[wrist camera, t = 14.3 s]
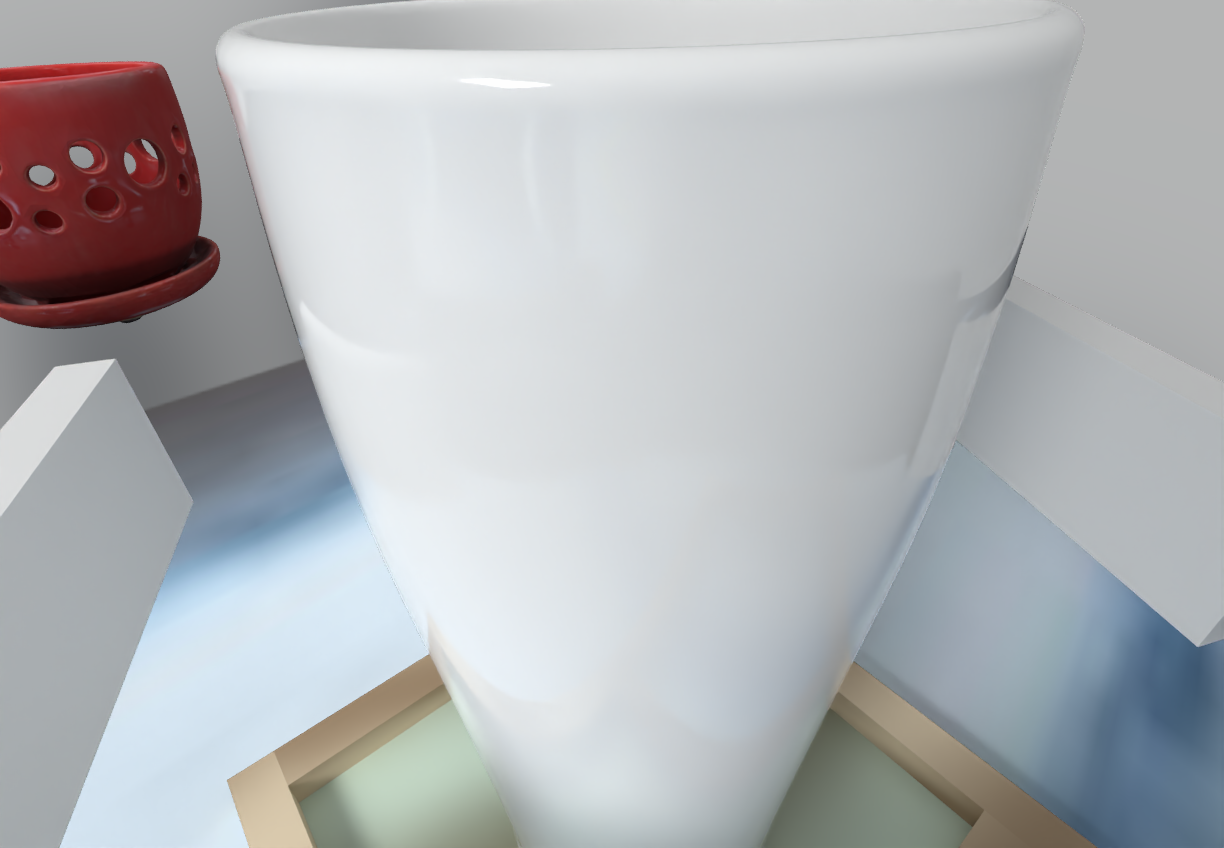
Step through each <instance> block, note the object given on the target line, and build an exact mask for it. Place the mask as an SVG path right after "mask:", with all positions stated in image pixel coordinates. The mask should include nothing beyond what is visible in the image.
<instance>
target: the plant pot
mask: <svg viewBox="0 0 1224 848" xmlns="http://www.w3.org/2000/svg"><path fill="white" fill-rule="evenodd" d="M141 139H143V140H146V141H148V142H149V143H150V144H151V146H152V147H153V148H154V150H155V152H156V155H157V157H158V159H156V158H154V157H152V156H151V155H150V154H149V153H148V152H147V151H146V149H145V148H144V146H143V144H142V141H141ZM75 146H81V147H84V148H86V149H88V150H89V151H91V153H92V154H93V157H94V163H93V164H92V166H91V167H89V168H81V167H78V166H77V165H75V164H74V163H73V161H72V160H71V158H70V155H69V149H70V148H71V147H75ZM125 152H127V153H129V154H130V155H132V156H133V158H134V159H135V162H136V169H135V171H134V172H133V173H131V174H128V172H127V170H126V167H125V164H124V153H125ZM37 165H41V166H46V167H48V168H50V169H51V170H52V171H53V172H54V177H53V180H52V181H51V182H50V183H49V184H47V185H45V186H42V185H39V184H36V183H34V182H33V181H31V179H30V177H29V170H30V169H31V168H32V167H33V166H37ZM201 198H202V197H201V186H200V179H199V173H198V167H197V163H196V158H195V155H194V153H193V149H192V146H191V142H190V139H189V135H188V131H187V127H186V124H185V120H184V117H183V114H182V111H181V108H180V106H179V103H178V100H177V97H176V94H175V92H174V89H173V87H172V84H171V81H170V79H169V76H168V74H167V72H166V70H165V68H164V67H163V66H162V65H160V64H158V63H154V62H94V63H74V64H73V63H71V64H55V65H38V66H23V67H10V68H0V317H1V318H4V319H6V320H8V321H11V322H14V323H17V324H22V325H26V326H31V327H39V328H51V329H67V328H81V327H89V326H97V325H103V324H109V323H114V322H119V321H120V322H122V323H130V322H133V321H136V320H138V319H140V318H141V317H142V316H143V315H146V314H149V313H152V312H155V311H157V310H160V309H162V308H165V307H167V306H170V305H172V304H174V303H176V302H179V301H181V300H183V299H185V298H187V297H188V296H190V295H192V294H194V293H195V292H197V291H198V290H200V289H201V288H202V287H203V286H205V285H206V284H207V283H208V282H209V281H210V280H211V279H212V277H213V276H214V275H215V273H216V271H217V269H218V266H219V262H220V252H219V248H218V246H217V244H216V243H214V242H213V241H212V240H210V239H207V238H205V237H201V236H198V233H199V228H200V221H201V210H202V199H201Z"/></svg>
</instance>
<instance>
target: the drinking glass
mask: <svg viewBox="0 0 1224 848" xmlns="http://www.w3.org/2000/svg"><path fill="white" fill-rule="evenodd" d="M1084 33H1085V27H1084V22H1083V20H1082V18H1081V17H1080V15H1079V14H1078V13H1077V12H1076V11H1075V10H1073V9H1072V8H1071V7H1069V6H1068V5H1065V4H1063V3H1060V2H1056V1H1051V0H415V1H403V2H390V3H379V4H367V5H357V6H346V7H338V8H328V9H320V10H311V11H304V12H296V13H290V14H283V15H277V16H271V17H266V18H261V19H256V20H253V21H249V22H245V23H242V24H239V25H236V26H234V27H232V28H230V29H229V30H227V31H226V32H225V33H224V34H223V35H222V36H221V37H220V39H219V41H218V43H217V46H216V50H215V60H216V66H217V69H218V72H219V75H220V78H221V81H222V84H223V86H224V89H225V92H226V96H227V99H228V102H229V106H230V109H231V112H232V116H233V119H234V123H235V126H236V130H237V134H238V137H239V141H240V144H241V148H242V151H243V155H244V158H245V162H246V166H247V169H248V173H249V177H250V180H251V184H252V187H253V191H254V195H255V198H256V202H257V205H258V209H259V212H260V215H261V219H262V222H263V226H264V230H265V233H266V236H267V240H268V243H269V247H270V250H271V253H272V257H273V260H274V263H275V266H276V270H277V273H278V276H279V280H280V283H281V287H282V290H283V293H284V297H285V300H286V303H287V306H288V309H289V312H290V315H291V318H292V322H293V325H294V327H295V331H296V334H297V337H298V340H299V343H300V347H301V350H302V352H303V355H304V358H305V361H306V364H307V367H308V370H309V373H310V376H311V379H312V382H313V385H314V388H315V391H316V393H317V396H318V399H319V402H320V405H321V407H322V410H323V413H324V416H325V418H326V421H327V424H328V426H329V429H330V432H331V435H332V437H333V440H334V443H335V446H336V448H337V451H338V453H339V456H340V458H341V461H342V463H343V466H344V468H345V471H346V473H347V476H348V478H349V481H350V483H351V486H352V488H353V491H354V493H355V496H356V498H357V501H358V503H359V506H360V508H361V511H362V513H363V515H364V518H365V520H366V522H367V525H368V527H369V529H370V531H371V534H372V536H373V538H374V541H375V543H376V545H377V548H378V550H379V552H380V554H381V556H382V559H383V561H384V563H385V565H386V567H387V569H388V571H389V573H390V576H391V578H392V580H393V582H394V584H395V586H396V588H397V590H398V593H399V595H400V597H401V599H402V601H403V603H404V605H405V607H406V609H407V611H408V613H409V615H410V617H411V619H412V621H413V623H414V625H415V628H416V630H417V632H418V634H419V636H420V638H421V640H422V642H423V644H424V646H425V648H426V650H427V652H428V654H429V656H430V658H431V660H432V662H433V664H434V666H435V668H436V670H437V672H438V674H439V676H440V678H441V680H442V682H443V684H444V687H445V689H446V691H447V693H448V695H449V697H450V699H451V701H452V703H453V705H454V707H455V709H456V711H457V713H458V715H459V717H460V719H461V721H462V723H463V725H464V727H465V729H466V731H467V734H468V736H469V738H470V740H471V742H472V744H473V746H474V748H475V750H476V752H477V754H478V756H479V758H480V760H481V762H482V765H483V767H484V769H485V771H486V773H487V775H488V777H489V779H490V781H491V784H492V786H493V788H494V790H495V792H496V794H497V796H498V798H499V800H500V803H501V805H502V807H503V809H504V811H505V813H506V815H507V818H508V820H509V822H510V824H511V826H512V829H513V833H514V837H515V840H516V844H517V848H764V847H765V843H766V839H767V835H768V833H769V831H770V829H771V827H772V825H773V822H774V820H775V818H776V816H777V814H778V812H779V810H780V808H781V806H782V804H783V802H784V799H785V797H786V795H787V793H788V791H789V789H790V787H791V785H792V783H793V781H794V779H795V777H796V775H797V773H798V771H799V769H800V767H801V765H802V763H803V761H804V759H805V757H806V755H807V753H808V751H809V749H810V747H811V745H812V743H813V741H814V739H815V737H816V735H817V733H818V731H819V729H820V727H821V725H822V723H823V721H824V719H825V717H826V715H827V713H828V711H829V709H830V707H831V705H832V703H833V701H834V699H835V697H836V695H837V693H838V691H839V689H840V687H841V685H842V683H843V681H844V680H845V678H846V676H847V674H848V672H849V670H850V668H851V666H852V664H853V662H854V660H855V658H856V656H857V654H858V652H859V650H860V648H861V646H862V644H863V642H864V640H865V638H866V636H867V634H868V632H869V630H870V628H871V626H872V624H873V622H874V620H875V618H876V616H877V615H878V613H879V611H880V609H881V607H882V605H883V603H884V601H885V599H886V597H887V595H888V593H889V591H890V588H891V586H892V584H893V582H894V580H895V578H896V576H897V574H898V572H899V570H900V568H901V566H902V564H903V562H904V560H905V558H906V556H907V554H908V552H909V550H910V547H911V545H912V543H913V541H914V539H915V536H916V534H917V532H918V530H919V528H920V525H921V523H922V521H923V519H924V517H925V514H926V512H927V510H928V508H929V505H930V503H931V501H932V498H933V496H934V494H935V491H936V489H937V486H938V484H939V481H940V479H941V477H942V474H943V472H944V469H945V467H946V464H947V462H948V460H949V457H950V455H951V452H952V449H953V447H954V444H955V441H956V439H957V436H958V434H959V431H960V428H961V426H962V423H963V420H964V418H965V415H966V412H967V410H968V407H969V405H970V402H971V399H972V396H973V393H974V390H975V388H976V385H977V382H978V379H979V376H980V373H981V371H982V368H983V365H984V362H985V359H986V356H987V354H988V351H989V348H990V345H991V342H992V339H993V336H994V333H995V330H996V326H997V323H998V320H999V317H1000V314H1001V311H1002V308H1003V305H1004V302H1005V299H1006V296H1007V293H1008V290H1009V287H1010V283H1011V280H1012V277H1013V274H1014V270H1015V267H1016V264H1017V261H1018V257H1019V254H1020V251H1021V248H1022V245H1023V241H1024V238H1025V235H1026V231H1027V228H1028V225H1029V221H1030V218H1031V214H1032V211H1033V208H1034V204H1035V201H1036V198H1037V194H1038V191H1039V187H1040V184H1041V180H1042V177H1043V173H1044V170H1045V166H1046V163H1047V160H1048V156H1049V153H1050V149H1051V146H1052V142H1053V139H1054V135H1055V132H1056V128H1057V125H1058V121H1059V117H1060V114H1061V110H1062V107H1063V104H1064V101H1065V97H1066V94H1067V91H1068V87H1069V84H1070V81H1071V78H1072V75H1073V72H1074V69H1075V66H1076V64H1077V61H1078V58H1079V55H1080V53H1081V50H1082V45H1083V40H1084Z"/></svg>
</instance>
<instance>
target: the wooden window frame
mask: <svg viewBox="0 0 1224 848" xmlns="http://www.w3.org/2000/svg"><path fill="white" fill-rule="evenodd" d="M227 782H228V785H229V788H230V791H231V794H232V797H233V800H234V803H235V806H236V809H237V812H238V815H239V818H240V821H241V824H242V827H243V830H244V833H245V836H246V839H247V842H248V845H249V848H517V844H516V840H515V837H514V833H513V829H512V826H511V824H510V822H509V820H508V818H507V815H506V813H505V811H504V809H503V807H502V805H501V803H500V800H499V798H498V796H497V794H496V792H495V790H494V788H493V786H492V784H491V781H490V779H489V777H488V775H487V773H486V771H485V769H484V767H483V765H482V762H481V760H480V758H479V756H478V754H477V752H476V750H475V748H474V746H473V744H472V742H471V740H470V738H469V736H468V734H467V731H466V729H465V727H464V725H463V723H462V721H461V719H460V717H459V715H458V713H457V711H456V709H455V707H454V705H453V703H452V701H451V699H450V697H449V695H448V693H447V691H446V689H445V687H444V684H443V682H442V680H441V678H440V676H439V674H438V672H437V670H436V668H435V666H434V664H433V662H432V660H431V658H430V656H429V655H427V656H425V657H424V658H422V659H421V660H419V661H417V662H416V663H414V664H413V665H411V666H409V667H408V668H406V669H405V670H403V671H401V672H400V673H398V674H396V675H395V676H393V677H392V678H390V679H388V680H387V681H385V682H384V683H382V684H380V685H379V686H377V687H376V688H374V689H372V690H371V691H369V692H368V693H366V694H364V695H363V696H361V697H360V698H358V699H356V700H355V701H353V702H352V703H350V704H348V705H347V706H345V707H344V708H342V709H340V710H339V711H337V712H336V713H334V714H332V715H331V716H329V717H328V718H326V719H324V720H323V721H321V722H320V723H318V724H316V725H315V726H313V727H312V728H310V729H308V730H307V731H305V732H304V733H302V734H300V735H299V736H297V737H296V738H294V739H292V740H291V741H289V742H287V743H286V744H284V745H283V746H281V747H279V748H278V749H276V750H275V751H273V752H271V753H270V754H268V755H267V756H265V757H263V758H262V759H260V760H259V761H257V762H255V763H254V764H252V765H251V766H249V767H247V768H246V769H244V770H243V771H241V772H239V773H238V774H236V775H235V776H233V777H231V778H230V779H228V780H227ZM764 848H1097V847H1096V846H1095V845H1094V844H1092V843H1091V842H1090V841H1088V840H1087V839H1086V838H1084V837H1083V836H1082V835H1080V834H1079V833H1078V832H1076V831H1075V830H1074V829H1073V828H1071V827H1070V826H1069V825H1067V824H1066V823H1065V822H1063V821H1062V820H1061V819H1059V818H1058V817H1057V816H1056V815H1054V814H1053V813H1052V812H1050V811H1049V810H1048V809H1046V808H1045V807H1044V806H1042V805H1041V804H1040V803H1039V802H1037V801H1036V800H1035V799H1033V798H1032V797H1031V796H1029V795H1028V794H1027V793H1025V792H1024V791H1023V790H1021V789H1020V788H1019V787H1018V786H1016V785H1015V784H1014V783H1012V782H1011V781H1010V780H1008V779H1007V778H1006V777H1004V776H1003V775H1002V774H1001V773H999V772H998V771H997V770H995V769H994V768H993V767H991V766H990V765H989V764H987V763H986V762H985V761H984V760H982V759H981V758H980V757H978V756H977V755H976V754H974V753H973V752H972V751H970V750H969V749H968V748H967V747H965V746H964V745H963V744H961V743H960V742H959V741H957V740H956V739H955V738H953V737H952V736H951V735H949V734H948V733H947V732H946V731H944V730H943V729H942V728H940V727H939V726H938V725H936V724H935V723H934V722H932V721H931V720H930V719H929V718H927V717H926V716H925V715H923V714H922V713H921V712H919V711H918V710H917V709H915V708H914V707H913V706H912V705H910V704H909V703H908V702H906V701H905V700H904V699H902V698H901V697H900V696H898V695H897V694H896V693H894V692H893V691H892V690H891V689H889V688H888V687H887V686H885V685H884V684H883V683H881V682H880V681H879V680H877V679H876V678H875V677H874V676H872V675H871V674H870V673H868V672H867V671H866V670H864V669H863V668H862V667H860V666H859V665H858V664H857V663H855V662H853V664H852V666H851V668H850V670H849V672H848V674H847V676H846V678H845V680H844V681H843V683H842V685H841V687H840V689H839V691H838V693H837V695H836V697H835V699H834V701H833V703H832V705H831V707H830V709H829V711H828V713H827V715H826V717H825V719H824V721H823V723H822V725H821V727H820V729H819V731H818V733H817V735H816V737H815V739H814V741H813V743H812V745H811V747H810V749H809V751H808V753H807V755H806V757H805V759H804V761H803V763H802V765H801V767H800V769H799V771H798V773H797V775H796V777H795V779H794V781H793V783H792V785H791V787H790V789H789V791H788V793H787V795H786V797H785V799H784V802H783V804H782V806H781V808H780V810H779V812H778V814H777V816H776V818H775V820H774V822H773V825H772V827H771V829H770V831H769V833H768V835H767V839H766V843H765V847H764Z"/></svg>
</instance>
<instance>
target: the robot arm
mask: <svg viewBox="0 0 1224 848" xmlns="http://www.w3.org/2000/svg"><path fill="white" fill-rule="evenodd" d="M956 440H957V441H958V442H959V443H960V444H961V445H963V446H964V447H965V448H966V449H967V450H968V451H970V452H971V453H972V454H973V455H974V456H975V457H977V458H978V459H979V460H980V461H981V462H982V463H984V464H985V465H986V466H987V467H988V468H989V469H991V470H992V471H993V472H994V473H995V474H996V475H998V476H999V477H1000V478H1001V479H1002V480H1003V481H1005V482H1006V483H1007V484H1008V485H1009V486H1010V487H1012V488H1013V489H1014V490H1015V491H1016V492H1017V493H1019V494H1020V495H1021V496H1022V497H1023V498H1024V499H1026V500H1027V501H1028V502H1029V503H1030V504H1031V505H1033V506H1034V507H1035V508H1036V509H1037V510H1038V511H1040V512H1041V513H1042V514H1043V515H1044V516H1045V517H1047V518H1048V519H1049V520H1050V521H1051V522H1052V523H1054V524H1055V525H1056V526H1057V527H1058V528H1059V529H1061V530H1062V531H1063V532H1064V533H1065V534H1066V535H1068V536H1069V537H1070V538H1071V539H1072V540H1073V541H1075V542H1076V543H1077V544H1078V545H1079V546H1080V547H1082V548H1083V549H1084V550H1085V551H1086V552H1087V553H1089V554H1090V555H1091V556H1092V557H1093V558H1094V559H1095V560H1097V561H1098V562H1099V563H1100V564H1101V565H1102V566H1104V567H1105V568H1106V569H1107V570H1108V571H1109V572H1111V573H1112V574H1113V575H1114V576H1115V577H1116V578H1118V579H1119V580H1120V581H1121V582H1122V583H1123V584H1125V585H1126V586H1127V587H1128V588H1129V589H1130V590H1132V591H1133V592H1134V593H1135V594H1136V595H1137V596H1139V597H1140V598H1141V599H1142V600H1143V601H1144V602H1146V603H1147V604H1148V605H1149V606H1150V607H1151V608H1153V609H1154V610H1155V611H1156V612H1157V613H1158V614H1160V615H1161V616H1162V617H1163V618H1164V619H1165V620H1167V621H1168V622H1169V623H1170V624H1171V625H1172V626H1174V627H1175V628H1176V629H1177V630H1178V631H1179V632H1181V633H1182V634H1183V635H1184V636H1185V637H1186V638H1188V639H1189V640H1190V641H1191V642H1192V643H1193V644H1195V645H1196V646H1197V647H1200V646H1203V645H1206V644H1210V643H1213V642H1216V641H1220V640H1223V639H1224V382H1223V381H1221V380H1219V379H1217V378H1215V377H1213V376H1211V375H1209V374H1207V373H1205V372H1203V371H1201V370H1199V369H1197V368H1195V367H1193V366H1191V365H1189V364H1187V363H1185V362H1183V361H1181V360H1179V359H1177V358H1175V357H1173V356H1171V355H1169V354H1167V353H1166V352H1164V351H1162V350H1160V349H1158V348H1156V347H1154V346H1152V345H1150V344H1148V343H1146V342H1144V341H1142V340H1140V339H1138V338H1136V337H1134V336H1132V335H1130V334H1128V333H1126V332H1124V331H1122V330H1120V329H1118V328H1116V327H1114V326H1112V325H1110V324H1108V323H1106V322H1104V321H1102V320H1100V319H1099V318H1097V317H1095V316H1093V315H1091V314H1089V313H1087V312H1085V311H1083V310H1081V309H1079V308H1077V307H1075V306H1073V305H1070V304H1069V303H1067V302H1065V301H1063V300H1061V299H1059V298H1057V297H1055V296H1053V295H1051V294H1049V293H1047V292H1045V291H1043V290H1041V289H1039V288H1037V287H1035V286H1033V285H1031V284H1030V283H1027V282H1025V281H1024V280H1022V279H1020V278H1017V277H1015V276H1014V275H1013V277H1012V280H1011V283H1010V287H1009V290H1008V293H1007V296H1006V299H1005V302H1004V305H1003V308H1002V311H1001V314H1000V317H999V320H998V323H997V326H996V330H995V333H994V336H993V339H992V342H991V345H990V348H989V351H988V354H987V356H986V359H985V362H984V365H983V368H982V371H981V373H980V376H979V379H978V382H977V385H976V388H975V390H974V393H973V396H972V399H971V402H970V405H969V407H968V410H967V412H966V415H965V418H964V420H963V423H962V426H961V428H960V431H959V434H958V436H957V439H956ZM192 505H193V500H192V498H191V496H190V494H189V492H188V491H187V489H186V487H185V485H184V483H183V481H182V480H181V478H180V476H179V474H178V472H177V470H176V469H175V467H174V465H173V463H172V461H171V459H170V457H169V456H168V454H167V452H166V450H165V448H164V446H163V445H162V443H161V441H160V439H159V437H158V435H157V433H156V432H155V430H154V428H153V426H152V424H151V422H150V421H149V419H148V417H147V415H146V413H145V411H144V409H143V408H142V406H141V404H140V402H139V400H138V398H137V397H136V395H135V393H134V391H133V389H132V388H131V386H130V384H129V382H128V380H127V378H126V376H125V375H124V373H123V371H122V369H121V367H120V365H119V363H118V362H117V360H116V359H109V360H101V361H94V362H86V363H79V364H71V365H64V366H56V367H54V368H53V369H52V371H51V372H50V373H49V374H48V375H47V376H46V378H45V379H44V380H43V381H42V382H41V383H40V385H39V386H38V387H37V388H36V389H35V390H34V391H33V393H32V394H31V395H30V396H29V397H28V398H27V400H26V401H25V402H24V403H23V404H22V405H21V406H20V408H19V409H18V410H17V411H16V412H15V413H14V415H13V416H12V417H11V418H10V419H9V420H8V421H7V423H6V424H5V425H4V426H3V427H2V428H1V430H0V848H59V847H60V844H61V842H62V839H63V837H64V834H65V831H66V829H67V826H68V824H69V821H70V819H71V816H72V813H73V811H74V808H75V806H76V803H77V801H78V798H79V795H80V793H81V790H82V788H83V785H84V783H85V780H86V777H87V775H88V772H89V770H90V767H91V765H92V762H93V759H94V757H95V754H96V752H97V749H98V747H99V744H100V741H101V739H102V736H103V734H104V731H105V729H106V726H107V723H108V721H109V718H110V716H111V713H112V710H113V708H114V705H115V703H116V700H117V698H118V695H119V692H120V690H121V687H122V685H123V682H124V680H125V677H126V674H127V672H128V669H129V667H130V664H131V662H132V659H133V656H134V654H135V651H136V649H137V646H138V644H139V641H140V638H141V636H142V633H143V631H144V628H145V626H146V623H147V620H148V618H149V615H150V613H151V610H152V608H153V605H154V602H155V600H156V597H157V595H158V592H159V590H160V587H161V584H162V582H163V579H164V577H165V574H166V572H167V569H168V566H169V564H170V561H171V559H172V556H173V554H174V551H175V548H176V546H177V543H178V541H179V538H180V536H181V533H182V530H183V528H184V525H185V523H186V520H187V518H188V515H189V512H190V510H191V507H192Z"/></svg>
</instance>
